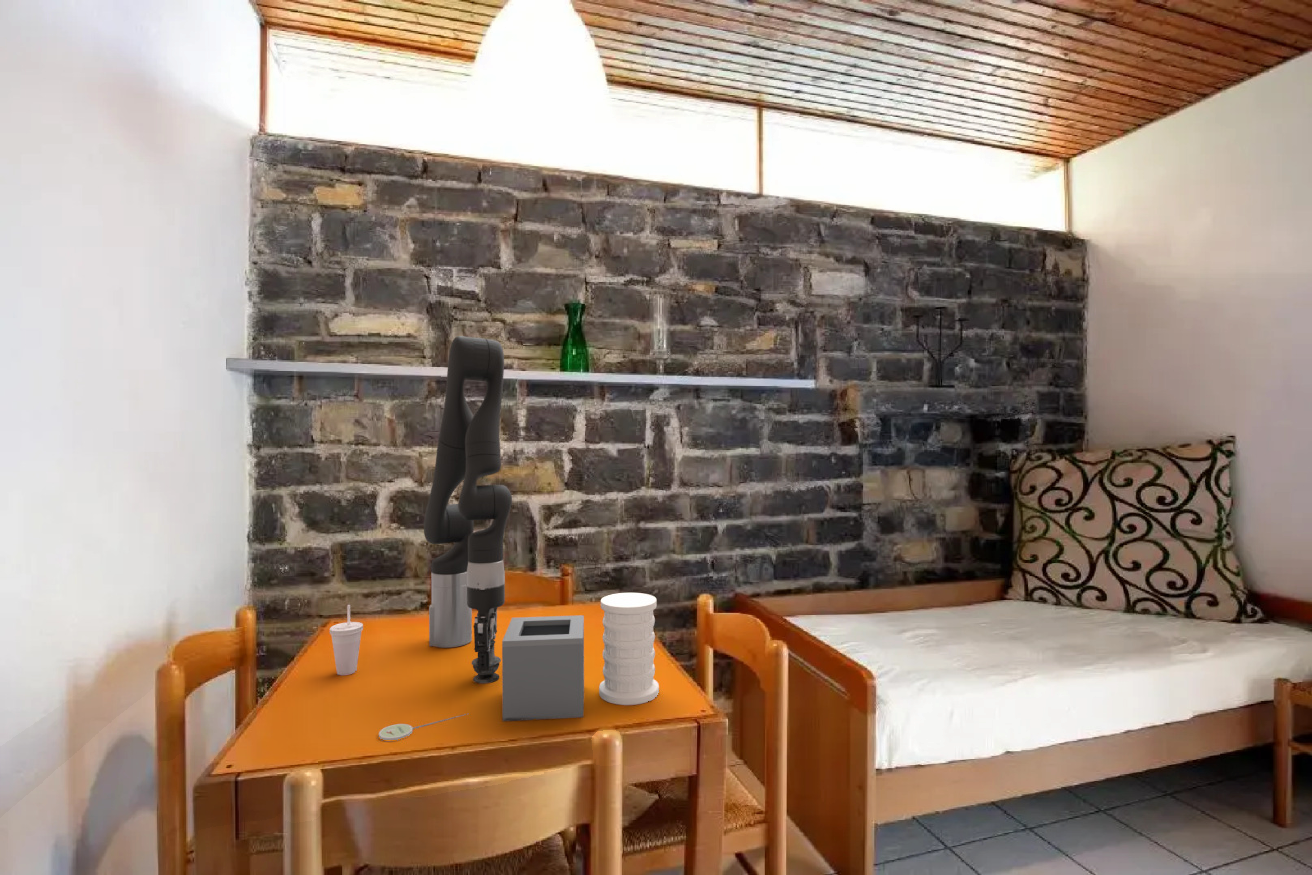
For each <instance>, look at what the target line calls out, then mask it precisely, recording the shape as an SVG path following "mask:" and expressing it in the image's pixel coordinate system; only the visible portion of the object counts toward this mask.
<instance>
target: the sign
mask: <svg viewBox="0 0 1312 875" xmlns="http://www.w3.org/2000/svg"><path fill="white" fill-rule="evenodd" d="M466 714H467V715H469V713H465V714H461V715H457V716H452V717H449V718H445V719H442V720H437V721H433V722H430V723H425V724H422V725H419V726H418V725H417V726H414V727H413V726H412V725H410V724H407V723H397V724H392V725H388V726H385V727H383V728H382V729H380V730H379V732H378V738H379V737H380V740H381V739H383V740H397V741H399V740H398V739H401V738H404V737H406V736H408V737H409V736H410V734H411V735H412V733H413V730H415V728H416V729H419V727H420V728H424V727H426V726H430V725H435V724H437V723H441V722H446V721H449V720H453V719H455V718H458V717H459V718H460V717H463V716H467V715H466ZM406 738H407V737H406ZM404 739H405V738H404ZM383 740H382V741H383ZM401 740H402V739H401Z"/></svg>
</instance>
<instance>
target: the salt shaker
mask: <svg viewBox="0 0 1312 875" xmlns="http://www.w3.org/2000/svg"><path fill="white" fill-rule="evenodd" d="M488 635H489V634H488ZM495 643H496V640H493V639H492V640H490V651H489V669H488V670H487V671H479V670H478V657H476V658H474V659H472V661H471V666H472V667H473V670H474V673H476V675H475V676H474V677H472V681H473V682H474V683H477V684H490V683H493V682H497V681H498V680H500V675H499V674H498V673H497V670H498V669H499V667H500V663H502V662H501V661H502V658H500V657H499V656H496V655H495ZM481 645H485V642H484V641H480V646H481Z"/></svg>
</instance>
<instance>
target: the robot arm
mask: <svg viewBox="0 0 1312 875" xmlns="http://www.w3.org/2000/svg"><path fill="white" fill-rule="evenodd" d="M503 348H504V347H503V345H502V344H501V343H500V341H498V340H495V339H489V338H481V337H473V336H472V337H471V336H463V335H460V336H459V335H458V336H456V337H454V338H453V339H452V341H451V343H450V347H449V353H448V360H447V361H448V362H447V372H446V373H447V374H446V386H445V397H444V398H445V400H444V406H443V412H442V418H441V424H440V429H439V433H438V440H437V448H436V456H435V464H434V465H435V466H434V473H433V479H432V485H431V487H430V488H431V489H430V494H429V496H428V500H427V505H426V510H425V513H424V514H425V515H424V521H423V533H424V535H423V536H424V537H425V540H426V541H427V542H428V543H429V544H431V545H441V544H442V545H443V544H451V543H453V546H452V547H451V548H450V549H449V550H448V551H446V552H445V553H444V554H442V555H439V556H437V557H436V558H433V560H432V562H431V568H430V570H431V574H430V575H431V604H430V605H429V607H428V615H429V616H428V619H429V620H428V623H429V624H428V628H429V630H428V633H429V634H428V635H429V637H428V639H429V640H428V643H429V644H428V646H429V647H436V648H442V649H443V648H455V647H456V648H457V647H462V646H464V645H468V644H469V643H470V642H472V640H473V639H474V641H473V642H474V644H473V645H474V648H473V649H474V652H475V653H477V658H478V670H479V671H487V670H488V669H489V651H490V640H492V639H493V640H494V641H496V637H497V635H496V634H497V632H498V630H497V629H498V628H497V627H498V624H497V620H498V608H500V607H502V606H503V605H504V604H505V603H506V598H505V596H506V594H505V592H506V591H505V590H506V589H505V585H506V584H505V583H506V581H505V580H506V578H505V577H506V575H505V574H506V572H505V563H504V538H505V536H504V535H505V531H506V526H507V522H508V518H509V516H510V512H511V509H512V505H513V496H512V493H511V491H510V489H509V488H508V486H506V485H505V484H490V485H489V484H488V485H487V484H486V485H485V484H483V485H477V481H478V480H479V479H481V478H483V477H487V476H491V475H494V474H495V475H496V474H497V473H498V472H500V471H501V468H502V467H501V466H502V462H501V460H502V458H501V456H502V455H501V442H500V426H501V424H500V423H501V421H500V420H501V412H502V411H501V410H502V401H503V400H502V399H503V387H504V386H503V385H504V374H505V354H504V350H503ZM465 380H467V381H478V382H485V383H486V390H485V395H484V398H483V400H482V402H481V405H480V406H479V407H478V409H477V411H476V413H475V414H473V412H472V411H471V409H470V406H469V403H468V402H467V399H466V396H465V391H464V390H465V389H464V385H465ZM462 482H463V484H462V488H461V491H460V494H459V498H458V503H454V504H453V503H452V504H449V501H450V498H452V497H451V496H452V495H453V493H454V492H455V490H456V489H457V488H458V487H459V486H460V484H461V483H462ZM480 520H481V521H483V520H493V521H492V523H491V524H490V525H489V526H488V527H487V528H484V529H480V530H477V531H475V530H474V526H475V525H474V523H475V521H480ZM473 610H476V611H477V614H476V616H475V617H474V623H473V621H472V620H473V613H472V612H473ZM472 623H473V624H472ZM472 629H473V630H472ZM488 634H489V635H488ZM472 635H473V636H472ZM480 641H484V642H485V645H481V646H480Z"/></svg>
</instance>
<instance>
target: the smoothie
mask: <svg viewBox="0 0 1312 875" xmlns="http://www.w3.org/2000/svg"><path fill="white" fill-rule="evenodd" d="M346 610H347V612H346V614H347V615H346V616H347V617H346V618H347V619H346V620H347V622H346V621H345V622H342V623H337V624H335V625H332V626H331V627H330V628H329V634H330V635H331V641H332V647H333V648H332V649H333V655H334V661H335V662H334V663H335V668H336V670H335V671H336V674H337V675H339V676H348V675H351V674H354V673H356V672H357V670H358V669H357V668H358V661H359V651H360V645H361V639H362V638H361V637H362V631H363V630H364V624H363V623H362V622H359V621H351V604H347V607H346ZM355 671H356V672H355Z"/></svg>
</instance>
